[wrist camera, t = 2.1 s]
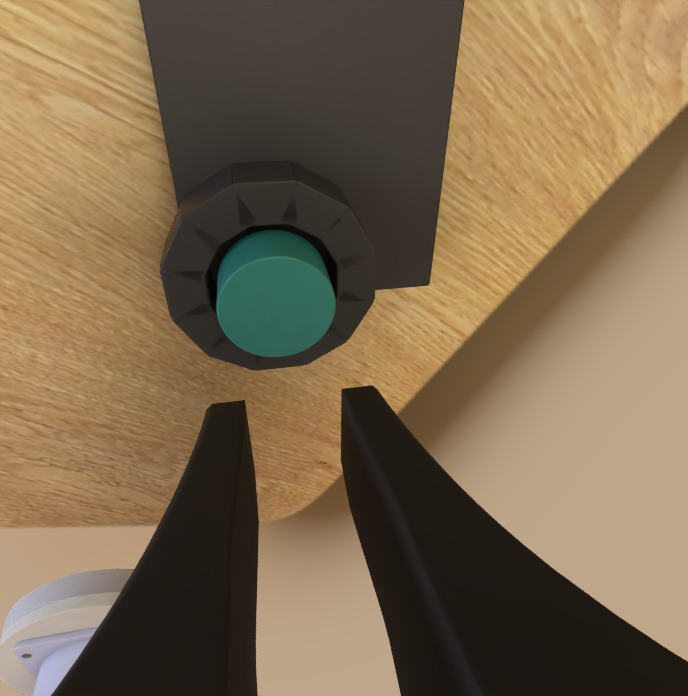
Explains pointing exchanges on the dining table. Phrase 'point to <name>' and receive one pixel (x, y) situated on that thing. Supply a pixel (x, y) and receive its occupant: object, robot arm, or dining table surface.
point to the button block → (302, 144)
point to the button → (274, 294)
